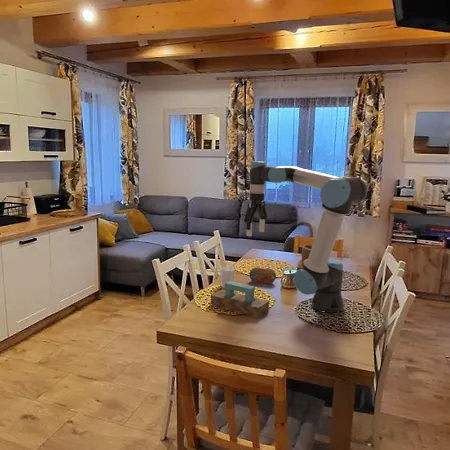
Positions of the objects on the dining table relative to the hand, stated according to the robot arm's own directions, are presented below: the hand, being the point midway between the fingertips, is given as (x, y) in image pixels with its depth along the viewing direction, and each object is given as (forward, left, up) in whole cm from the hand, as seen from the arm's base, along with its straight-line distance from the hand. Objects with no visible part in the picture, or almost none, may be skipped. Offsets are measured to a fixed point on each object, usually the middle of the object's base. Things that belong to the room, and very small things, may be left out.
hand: (255, 233), depth 208 cm
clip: (-6, +24, -30) cm, 39 cm away
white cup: (+16, +2, -31) cm, 35 cm away
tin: (+4, -16, -31) cm, 36 cm away
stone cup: (-4, -59, -31) cm, 67 cm away
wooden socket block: (-6, +24, -31) cm, 40 cm away
